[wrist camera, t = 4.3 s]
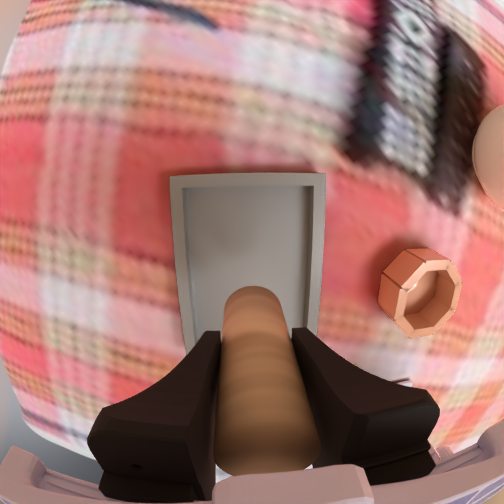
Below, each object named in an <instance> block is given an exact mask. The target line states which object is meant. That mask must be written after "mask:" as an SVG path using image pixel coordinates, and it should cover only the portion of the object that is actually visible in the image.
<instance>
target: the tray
mask: <svg viewBox="0 0 504 504" xmlns="http://www.w3.org/2000/svg"><path fill="white" fill-rule="evenodd" d="M169 181H170V202H171V219H172V233H173V246H174V257H175V268H176V278H177V287H178V296H179V305H180V313H181V321H182V328H183V335H184V342H185V349H186V355H187V354H188V353H189V352H190V351H191V349H192V348H193V347H194V346H195V344H196V343H197V342H198V340H199V339H200V337H201V336H202V334H203V333H204V332H205V331H220V334H221V339H222V327H223V316H224V307H225V303H226V301H227V299H228V298H229V297H230V295H231V294H232V293H234V292H235V291H236V290H238V289H240V288H243V287H246V286H261V287H264V288H267V289H269V290H270V291H272V292H273V293H274V294H275V295H276V296H277V297H278V299H279V301H280V304H281V307H282V310H283V314H284V317H285V320H286V324H287V327H288V331H289V334H290V338H291V337H292V328H301V327H307V328H308V329H309V330H310V331H311V332H312V333H313V334H314V335H315V336H316V337H317V329H318V318H319V307H320V295H321V282H322V268H323V251H324V230H325V199H326V174H324V173H297V172H249V173H212V174H191V175H175V176H169Z"/></svg>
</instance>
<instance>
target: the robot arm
mask: <svg viewBox="0 0 504 504" xmlns="http://www.w3.org/2000/svg"><path fill="white" fill-rule="evenodd" d="M291 341H292V344H293V348H294V351H295V355H296V358H297V362H298V365H299V369H300V372H301V376H302V379H303V383H304V386H305V390H306V393H307V397H308V400H309V404H310V407H311V411H312V414H313V418H314V422H315V425H316V429H317V432H318V436H319V439H320V443H321V451H320V454H319V456H318V458H317V459H316V460H315V461H314V462H313V463H312V465H313V469H306V470H298V471H288V472H277V473H262V474H246V475H239V476H231V477H229V478H227V479H224V480H222V481H220V482H218V483H216V482H215V467H216V463H215V461H214V459H213V446H214V431H215V416H216V402H217V388H218V375H219V363H220V352H221V334H220V331H205V332H204V333H203V334H202V336H201V337H200V339H199V340H198V342H197V343H196V344H195V346H194V347H193V348H192V349H191V351H190V352H189V353H188V354H187V355H186V356H185V358H184V359H183V360H182V361H181V362H180V363H179V364H178V365H177V366H176V367H175V368H174V369H173V370H172V371H171V372H170V373H168V374H167V375H166V376H165V377H164V378H162V379H161V380H160V381H158V382H157V383H155V384H154V385H152V386H150V387H149V388H147V389H146V390H144V391H142V392H140V393H139V394H137V395H135V396H133V397H131V398H128V399H126V400H124V401H121V402H119V403H116V404H113V405H110V406H107V407H104V408H102V410H101V412H100V413H99V415H98V416H97V418H96V420H95V422H94V424H93V427H92V429H91V431H90V433H89V436H88V438H87V444H88V446H89V449H90V451H91V452H92V454H93V455H94V457H95V458H96V460H97V461H98V463H99V464H100V466H101V467H102V469H103V470H104V473H103V475H102V478H101V481H100V484H99V485H97V484H93V483H90V482H86V481H82V480H79V479H76V478H73V477H70V476H66V475H64V474H61V473H58V472H55V471H53V470H50V469H47V468H46V467H45V465H44V464H43V462H42V461H41V460H40V459H39V458H38V457H37V456H35V455H34V454H32V453H30V452H27V451H25V450H23V449H20V448H18V447H16V446H11V448H10V450H9V451H8V453H7V455H6V456H5V458H4V460H3V462H2V463H1V465H0V500H1V501H2V502H3V503H5V504H481V503H483V502H484V501H486V500H487V499H489V498H490V497H492V496H493V495H495V494H496V493H497V492H499V491H500V490H502V488H504V419H503V420H501V421H500V422H498V423H496V424H494V425H493V426H491V427H489V428H488V429H487V430H486V431H485V432H484V433H483V434H482V435H481V437H480V438H479V440H478V442H477V443H476V444H474V445H472V446H470V447H468V448H466V449H464V450H462V451H460V452H457V453H455V454H453V452H452V451H451V449H450V448H449V447H443V446H440V447H438V448H437V449H436V450H437V451H438V453H439V455H440V458H441V460H440V458H439V456H438V454H437V453H436V451H435V450H434V448H433V447H432V445H431V444H430V443H429V441H428V440H427V439H428V437H429V436H430V434H431V432H432V430H433V429H434V427H435V425H436V423H437V420H438V418H439V415H440V409H439V407H438V405H437V403H436V402H435V401H434V399H433V398H432V397H431V395H430V394H429V393H428V391H427V390H424V389H419V388H414V387H412V381H411V380H407V381H403V382H398V383H394V382H390V381H387V380H385V379H382V378H380V377H377V376H375V375H372V374H370V373H368V372H366V371H364V370H362V369H360V368H359V367H357V366H355V365H353V364H352V363H350V362H348V361H347V360H345V359H344V358H342V357H341V356H340V355H338V354H337V353H336V352H334V351H333V350H332V349H330V348H329V347H328V346H327V345H326V344H324V343H323V342H322V341H321V340H320V339H319V338H318V337H316V336H315V335H314V334H313V333H312V332H311V331H310V330H309V329H308V328H307V327H301V328H292V337H291Z"/></svg>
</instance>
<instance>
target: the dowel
mask: <svg viewBox="0 0 504 504" xmlns="http://www.w3.org/2000/svg"><path fill="white" fill-rule="evenodd" d="M320 451H321V443H320V439H319V436H318V432H317V429H316V425H315V422H314V418H313V414H312V411H311V407H310V404H309V400H308V397H307V393H306V390H305V386H304V383H303V379H302V376H301V372H300V369H299V365H298V362H297V358H296V355H295V351H294V348H293V344H292V341H291V338H290V334H289V331H288V327H287V324H286V320H285V317H284V314H283V310H282V307H281V304H280V301H279V299H278V297H277V296H276V295H275V294H274V293H273V292H272V291H270V290H269V289H267V288H264V287H261V286H246V287H243V288H240V289H238V290H236V291H235V292H234V293H232V294H231V295H230V297H229V298H228V299H227V301H226V303H225V307H224V316H223V327H222V339H221V352H220V363H219V375H218V388H217V402H216V416H215V431H214V446H213V459H214V461H215V463H216V465H217V466H218V467H219V468H220V469H222V470H223V471H224V472H226V473H228V474H230V475H233V476H239V475H246V474H262V473H277V472H288V471H298V470H304V469H305V468H307V467H308V466H310V465H311V464H312V463H313V462H314V461H315V460H316V459H317V458H318V456H319V454H320Z"/></svg>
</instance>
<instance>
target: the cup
mask: <svg viewBox="0 0 504 504" xmlns="http://www.w3.org/2000/svg"><path fill="white" fill-rule="evenodd" d="M383 272H384V274H382V275H381V282H380V289H379V296H378V304H379V305H380V307H381V308H382V309H383V310H384V311H385V312H386V313H387V315H388V316H389V317H390V318H391V319H392V320H393V322H394V323H395V324H396V325H397V326H398V327H399V328H400V329H401V330H402V332H403V333H404V334H405V335H406V336H407V337H408V338H410V339H411V338H417V337H422V336H427V335H433V334H434V332H435V333H436V332H437V331H438V330H439V329H440V328H441V327H442V326H443V325H444V323H445V322H446V321H447V320H448V319H449V318H450V317H451V316H452V315H453V314H454V313H455V312H454V310H456V308H457V304H458V300H459V296H460V292H461V288H462V283H463V282H461V281H462V279H461V277H460V275H459V273H458V271H457V269H456V267H455V266H454V264H453V262H452V260H450V259H448V258H446V257H444V256H442V255H441V254H439V253H437V252H435V251H433V250H431V249H429V248H420V249H405V251H404V250H403V251H402V252H401V253H400V254H399V255H398V256H397V257H396V258H395V259H394V260H393V262H392V263H391V264H390V265H389V266H388V267H387V268H386V269H385V270H384V271H383Z"/></svg>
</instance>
